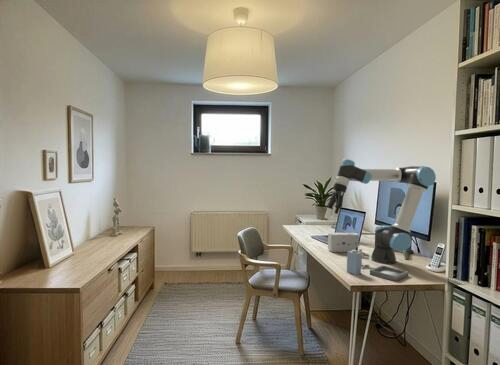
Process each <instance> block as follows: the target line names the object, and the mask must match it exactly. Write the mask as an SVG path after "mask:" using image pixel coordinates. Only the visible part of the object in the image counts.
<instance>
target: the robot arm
mask: <svg viewBox="0 0 500 365" xmlns="http://www.w3.org/2000/svg"><path fill="white" fill-rule="evenodd" d="M355 165H356V163H355V161H353V160H352V159H347V158H344V159H342V161H341V164H340V165H339V169H338V172H337V175H336V177H335V183H334V185H333V187H332V189H333V191H334V192H332V195H331V197H330V199H329V201H328V203H327V205H326V207H327V208H326V212H325V214H324V219H327V220H330V217H331V219H333V220H335V221H337V218H338V215H339V212H340V209H341V208H343V200H344V195H345V193H346V191H347V189H348V186H349V183H350V182H351V181H353V182H359V183H361V184H365V185H368V184H369V183H370V182H373V181H374V182H375V181H376V182H384V181H385V182H386V181H387V182H395V183H401V184H402V183H403V184H406V185H407V187H408V188H407V190H406V194H405V196H404V198H403V201H402V204H401V207H400V210H399V212H398V214H397V217H396V220H395V223H393V224H391V225H376V226H375V229H374V247H373V252H372V254H371V257H370V259H371V260H372V261H374V262H376V263H382V264H395V263H397V257H396V254H395V251H397V252H404V251H407V250H408V249H409V248H410V246H411V245H412V238H411V230H410V228H411V225H412V223H413V220H414V217H415V215H416V212H417V210H418V207H419V204H420V201H421V199H422V198H423V194H424V193H425V192H427V191H428V189H429V186H433V185H434V184H435V182H436V178H437V177H436V176H437V175H436V172H435V170H434V169H432V168H431V167H429V166H424V165H421V166H417V165H416V166H415V165H414V166H412V165H411V166H406V167H405V166H404V167H396V168H393V169H391V168H390V169H388V168H387V169H385V168H360V167H357V166H355ZM333 207H334V208H333ZM332 210H333V211H332ZM331 214H332V215H331Z"/></svg>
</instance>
